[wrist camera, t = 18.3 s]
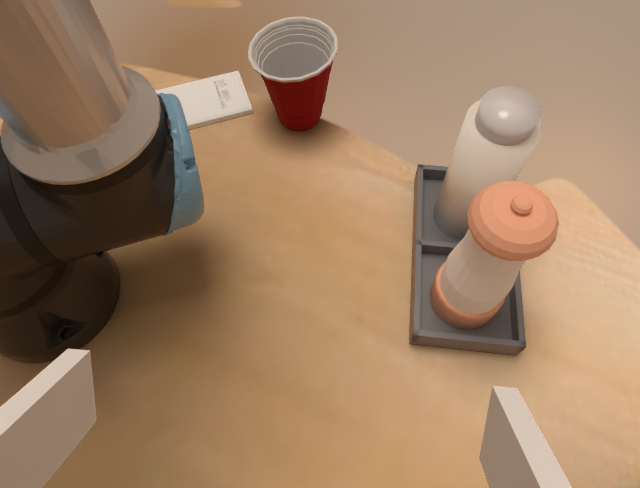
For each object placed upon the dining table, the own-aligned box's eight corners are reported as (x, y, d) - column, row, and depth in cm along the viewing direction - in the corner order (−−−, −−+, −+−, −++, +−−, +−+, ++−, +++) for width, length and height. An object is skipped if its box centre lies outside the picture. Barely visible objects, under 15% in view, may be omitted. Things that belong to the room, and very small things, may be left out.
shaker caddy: (409, 343, 52) (413, 334, 49) (414, 178, 62) (418, 164, 60) (515, 355, 51) (526, 347, 49) (503, 186, 62) (511, 172, 59)
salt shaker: (432, 237, 57) (472, 134, 41) (433, 190, 60) (470, 77, 44) (491, 243, 57) (554, 140, 41) (488, 194, 60) (546, 82, 44)
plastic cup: (254, 94, 70) (241, 21, 59) (328, 82, 71) (328, 8, 60) (265, 152, 65) (252, 83, 54) (344, 139, 66) (347, 69, 55)
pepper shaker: (423, 271, 55) (464, 166, 38) (486, 265, 55) (555, 158, 38) (437, 332, 52) (489, 248, 35) (504, 326, 52) (588, 238, 35)
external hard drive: (157, 98, 71) (239, 77, 73) (167, 139, 67) (254, 116, 69) (153, 89, 69) (238, 68, 71) (163, 130, 66) (252, 107, 67)
